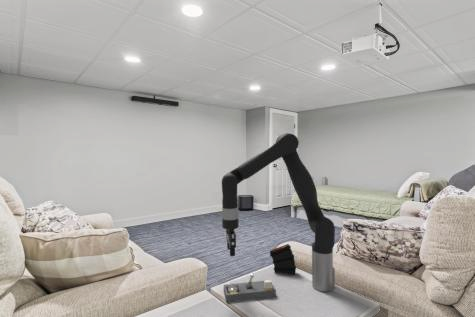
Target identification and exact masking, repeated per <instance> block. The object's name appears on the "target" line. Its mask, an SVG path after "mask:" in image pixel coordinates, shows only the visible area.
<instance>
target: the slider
mask: <svg viewBox="0 0 475 317" xmlns="http://www.w3.org/2000/svg"><path fill="white" fill-rule="evenodd" d="M263 281H264V288H265V289H270V288H272V284H273V281H272V279H267V280H266V279H265V280H263Z"/></svg>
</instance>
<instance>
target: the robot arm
mask: <svg viewBox="0 0 475 317" xmlns="http://www.w3.org/2000/svg"><path fill="white" fill-rule="evenodd" d="M299 144H300V142H299V138H298V137H297V135H295V134H293V133H288V132H287V133H282V134H281V135H278V137H277V138H276V140H275V143H273V145H271V146H269V148H267V149H265V150H264V151H262V152H260V153H257V154H256V155H255V156H253V157H250V158H249V159H247V161H245V162H243V163H242V164H240V165H239V166H237V167H236V168H234V169H232V170H230V171H229V172H226V173H225V174H224V175H223V176H222V178H221V192H222V194H221V195H222V201H221V203H222V211H221V218H222V219H221V221H222V222H221V223H222V224H221V225H222V229H224V230H225V239H226V240H225V241H226V246H227V247H226V248H227V250H229V256H230V257H235V256H236V248H237V239H236V238H237V235H236V231H235V229H238V228H239V227H240V225H239V221H240V220H239V207H238V206H239V205H238V204H239V202H238V201H239V200H238V199H239V198H238V184H240V183H242V182H243V181H244V180H247V179H249V178H251V177H253V176H254V175H255V174H257V173H258V172H260V171H262V170H263V169H264V168H266V167H267V166H269V165H271V164H272V163H273V162H275V161H277V160H279V159H282V160H283V162H284V164H285V167H286V169H287V172H288V175H289V178H290V180H291V181H290V182H292V184H291V185H292V186H293V188H294V191H295V193H296V195H297V197H298V199H299V201H300V204H301V205H302V207H303V209H304V212H305V216H306V218H307V221H308V226H309V228H310V230H311V231H312V232H313V233H314V242H313V243H312V244H311V270H312V271H311V277H312V278H311V281H312V284H311V286H312V287H313V289H315V290H317V291H319V292H322V293H323V292H328V293H329V292H331V291H332V290H334V289H336V286H335V284H336V281H335V280H336V278H335V276H336V271H335V270H336V268H335V267H334V265H333V264H334V263H333V262H334V257H333V255H334V252H333V251H334V250H333V249H334V246H335V240H336V239H335V238H336V237H335V235H336V234H335V233H336V228H335V224H334V221H332V220H331V219H330V218H329V217H327V216H325V215H324V213H323V211H322V209H321V207H320V205H319V202H318V192H317V188H316V184H315V182H314V180H313V177H312V175H311V173H310V172H309V170H308V169H307V167H306V166H305V164H304V163H303V162H302V160H301V158H300V156H299V153H298V148H299Z"/></svg>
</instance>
